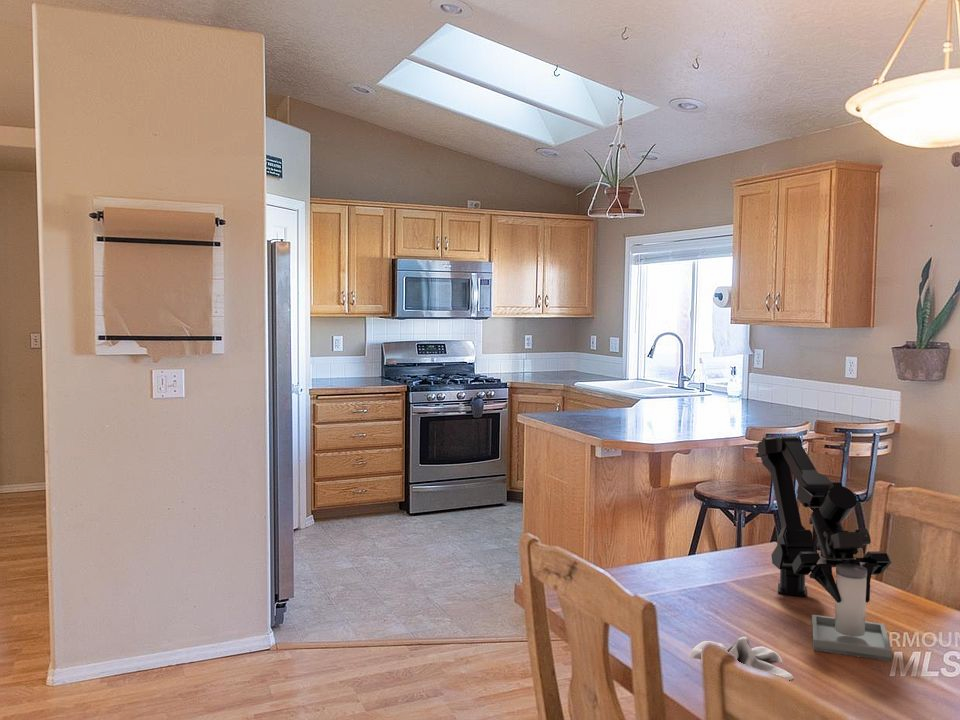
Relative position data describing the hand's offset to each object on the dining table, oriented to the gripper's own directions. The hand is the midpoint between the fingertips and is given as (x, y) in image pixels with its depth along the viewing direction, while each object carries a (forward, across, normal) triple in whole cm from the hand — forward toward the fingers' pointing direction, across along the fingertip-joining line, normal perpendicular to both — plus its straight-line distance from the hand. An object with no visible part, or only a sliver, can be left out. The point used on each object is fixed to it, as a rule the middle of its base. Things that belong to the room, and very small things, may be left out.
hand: (853, 601), depth 158 cm
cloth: (+14, -26, 0) cm, 30 cm away
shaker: (+4, 0, +6) cm, 7 cm away
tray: (+6, 0, +7) cm, 9 cm away
